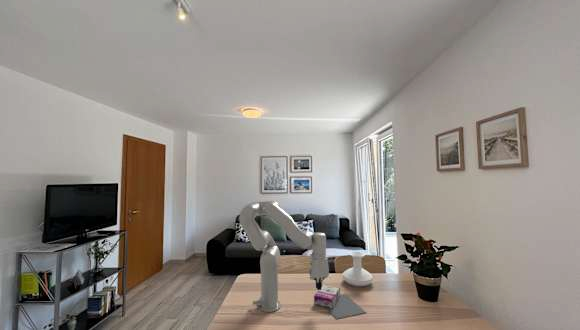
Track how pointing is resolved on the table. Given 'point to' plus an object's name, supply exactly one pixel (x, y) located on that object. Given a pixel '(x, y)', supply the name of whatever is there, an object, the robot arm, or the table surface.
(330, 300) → the candy bar box
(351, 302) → the mat
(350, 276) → the candle holder
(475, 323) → the table surface
